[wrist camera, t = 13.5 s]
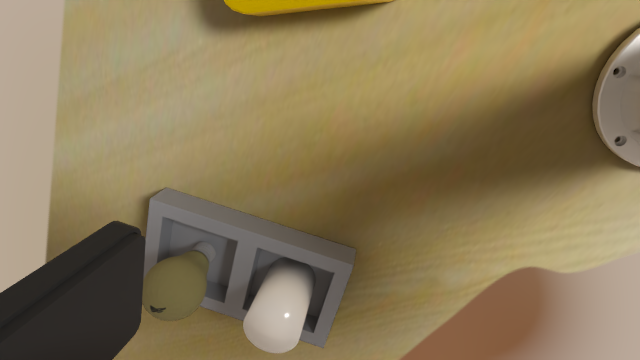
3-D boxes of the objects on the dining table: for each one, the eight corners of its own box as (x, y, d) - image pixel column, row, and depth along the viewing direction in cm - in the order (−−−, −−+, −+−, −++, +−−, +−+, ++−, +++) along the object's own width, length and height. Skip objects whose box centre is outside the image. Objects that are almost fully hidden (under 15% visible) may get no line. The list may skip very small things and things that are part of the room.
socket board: (356, 249, 39) (353, 265, 37) (327, 328, 44) (323, 348, 41) (166, 187, 40) (149, 198, 38) (155, 270, 45) (140, 285, 42)
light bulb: (201, 276, 43) (151, 342, 34) (174, 236, 42) (114, 293, 33) (241, 260, 42) (200, 324, 32) (214, 218, 40) (163, 272, 31)
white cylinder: (321, 265, 40) (306, 317, 33) (308, 303, 42) (292, 360, 35) (274, 250, 40) (249, 298, 33) (264, 288, 42) (238, 342, 35)
